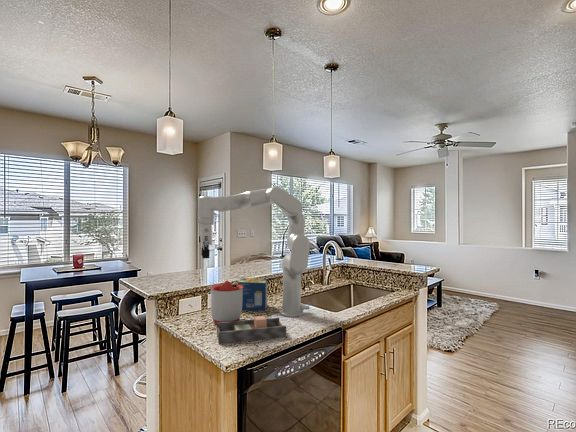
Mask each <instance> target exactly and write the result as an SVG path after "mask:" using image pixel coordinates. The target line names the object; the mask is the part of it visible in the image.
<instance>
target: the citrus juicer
mask: <svg viewBox="0 0 576 432" xmlns="http://www.w3.org/2000/svg"><path fill="white" fill-rule="evenodd" d="M242 300H243V286H242V285H238V284H237V285H236V287H234V286H233V284H232V283H231V282H230V281H229V280H226V281H224V282H223V283H217V284H214V285H211V286H210V312H211V313H210V314H211V316H212V317H211V318H212V320H213V323H214V324H215V325H217V323H219V322H231V321H240V318H241V314H242V311H243V310H242Z"/></svg>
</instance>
